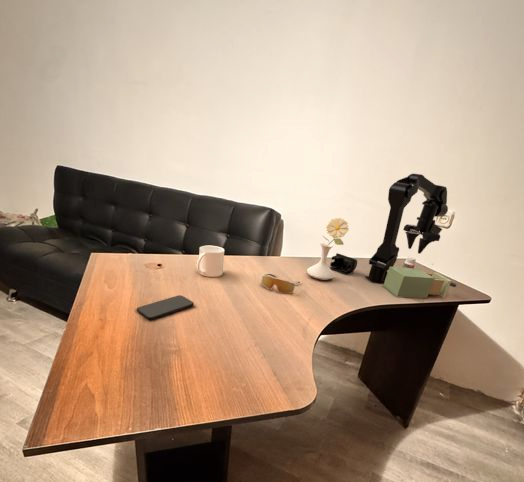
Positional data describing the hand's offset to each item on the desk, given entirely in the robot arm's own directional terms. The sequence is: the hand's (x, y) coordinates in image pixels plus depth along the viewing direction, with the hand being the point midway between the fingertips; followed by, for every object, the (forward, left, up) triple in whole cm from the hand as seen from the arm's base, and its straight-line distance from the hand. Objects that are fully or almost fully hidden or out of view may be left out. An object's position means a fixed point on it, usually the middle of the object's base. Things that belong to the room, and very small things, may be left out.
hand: (414, 251), depth 140 cm
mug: (-94, -13, -12) cm, 96 cm away
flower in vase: (-47, -10, -12) cm, 50 cm away
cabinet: (-14, -21, -12) cm, 28 cm away
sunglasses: (-67, -21, -12) cm, 71 cm away
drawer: (-2, -21, -11) cm, 24 cm away
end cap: (-33, +1, -12) cm, 35 cm away
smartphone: (-106, -43, -12) cm, 115 cm away
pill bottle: (0, 0, -12) cm, 12 cm away
